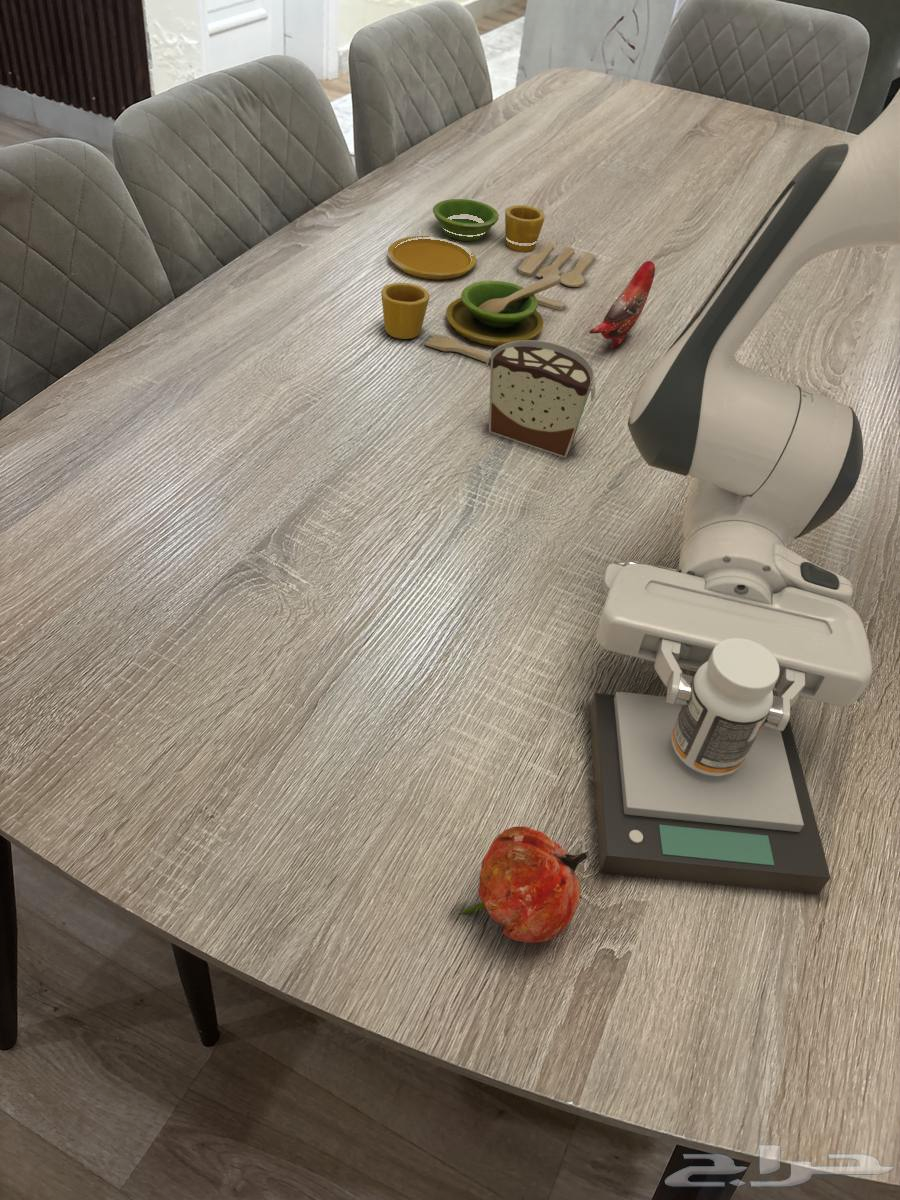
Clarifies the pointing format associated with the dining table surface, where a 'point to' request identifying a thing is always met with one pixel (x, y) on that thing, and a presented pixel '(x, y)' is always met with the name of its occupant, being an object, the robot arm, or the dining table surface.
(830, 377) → the dining table surface
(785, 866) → the kitchen scale
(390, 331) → the tableware set
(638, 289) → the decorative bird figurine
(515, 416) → the cake slice cutout
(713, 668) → the pill bottle
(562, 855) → the pomegranate
